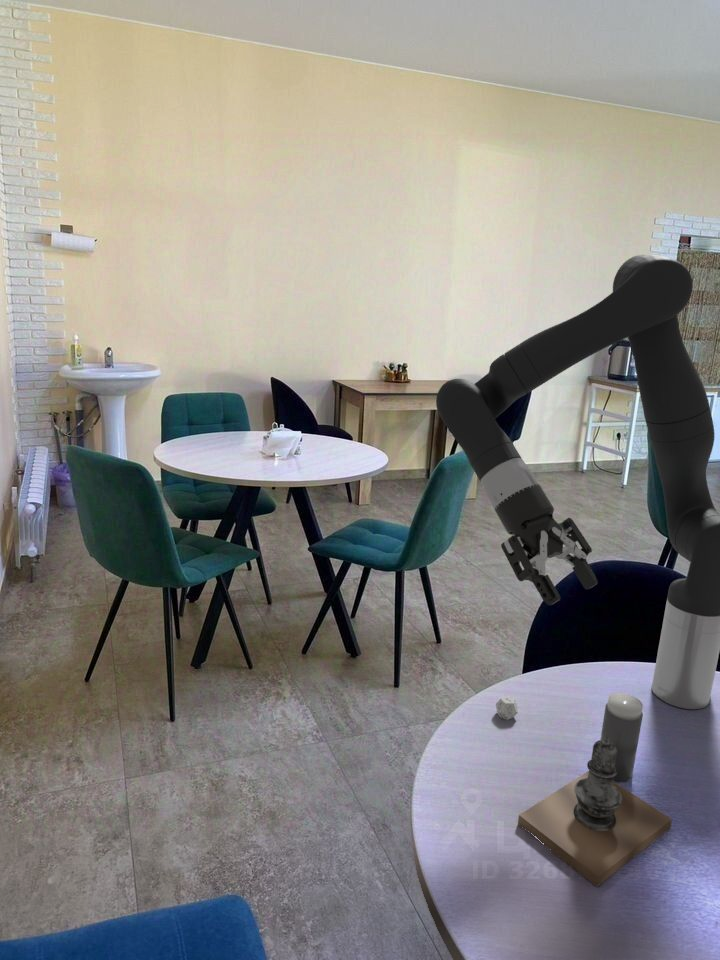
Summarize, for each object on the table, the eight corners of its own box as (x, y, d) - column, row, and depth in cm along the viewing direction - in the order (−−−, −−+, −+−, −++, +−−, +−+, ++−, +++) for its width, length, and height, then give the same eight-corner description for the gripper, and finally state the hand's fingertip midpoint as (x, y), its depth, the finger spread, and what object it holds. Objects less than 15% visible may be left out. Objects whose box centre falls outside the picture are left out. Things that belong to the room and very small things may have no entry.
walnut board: (591, 776, 102) (593, 767, 101) (670, 828, 93) (672, 819, 92) (517, 824, 92) (518, 814, 92) (596, 887, 83) (598, 876, 83)
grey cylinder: (609, 754, 107) (620, 688, 104) (639, 773, 103) (651, 704, 100) (589, 767, 104) (599, 699, 101) (619, 786, 100) (631, 716, 97)
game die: (507, 725, 113) (509, 709, 112) (490, 714, 116) (492, 698, 115) (522, 717, 115) (524, 701, 114) (504, 706, 118) (506, 691, 117)
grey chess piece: (621, 837, 89) (635, 755, 86) (572, 828, 90) (584, 747, 87) (615, 804, 94) (628, 726, 91) (569, 796, 96) (580, 719, 92)
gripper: (498, 491, 98) (560, 597, 92) (562, 475, 106) (622, 570, 101) (468, 517, 103) (524, 618, 98) (531, 499, 112) (586, 592, 106)
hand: (574, 594), depth 99 cm, fingers open, 8 cm apart
